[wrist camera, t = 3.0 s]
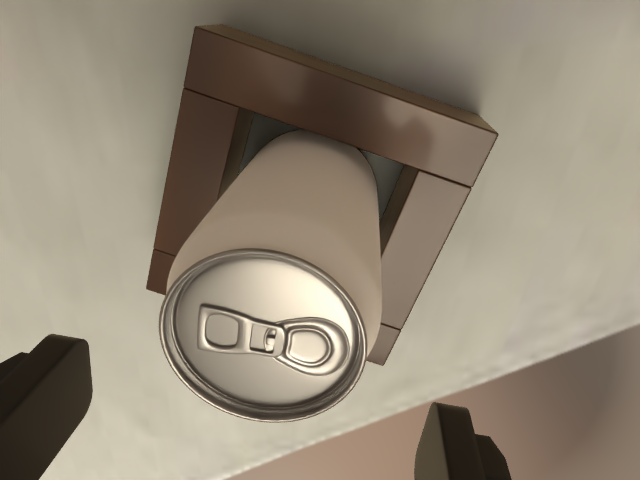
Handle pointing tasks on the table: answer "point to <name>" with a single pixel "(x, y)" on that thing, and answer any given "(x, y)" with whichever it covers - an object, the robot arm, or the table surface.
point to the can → (280, 284)
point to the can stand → (330, 121)
